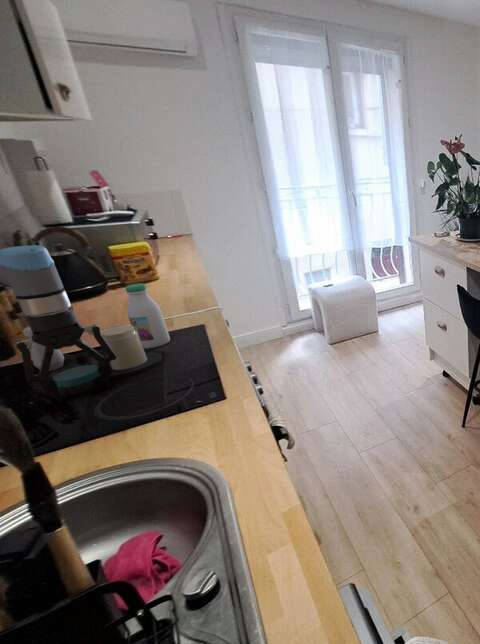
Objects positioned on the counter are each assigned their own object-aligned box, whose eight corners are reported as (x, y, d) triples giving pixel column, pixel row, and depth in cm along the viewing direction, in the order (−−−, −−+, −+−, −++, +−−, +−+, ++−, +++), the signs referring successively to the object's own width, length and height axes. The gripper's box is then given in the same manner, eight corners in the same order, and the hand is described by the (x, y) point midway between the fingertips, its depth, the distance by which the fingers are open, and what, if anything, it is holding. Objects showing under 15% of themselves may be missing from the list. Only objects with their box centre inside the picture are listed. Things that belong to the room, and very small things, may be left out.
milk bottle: (163, 337, 137) (144, 280, 130) (175, 341, 134) (156, 283, 127) (134, 346, 130) (112, 286, 123) (146, 351, 127) (124, 290, 120)
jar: (109, 372, 113) (95, 338, 109) (114, 361, 119) (101, 328, 115) (145, 364, 117) (133, 331, 114) (149, 354, 123) (137, 322, 119)
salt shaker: (32, 370, 115) (12, 328, 111) (60, 361, 120) (42, 321, 116) (44, 374, 114) (23, 332, 109) (71, 365, 119) (53, 324, 114)
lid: (99, 367, 109) (96, 361, 108) (103, 377, 104) (100, 371, 103) (54, 379, 103) (51, 373, 102) (56, 390, 98) (52, 384, 97)
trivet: (91, 383, 109) (89, 380, 109) (102, 363, 120) (101, 360, 120) (159, 369, 117) (158, 366, 117) (164, 350, 128) (163, 347, 127)
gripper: (107, 296, 107) (136, 373, 114) (-22, 320, 91) (22, 406, 99) (112, 303, 102) (142, 382, 110) (-23, 329, 87) (23, 418, 95)
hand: (85, 393), depth 105 cm, fingers closed on lid, 8 cm apart
